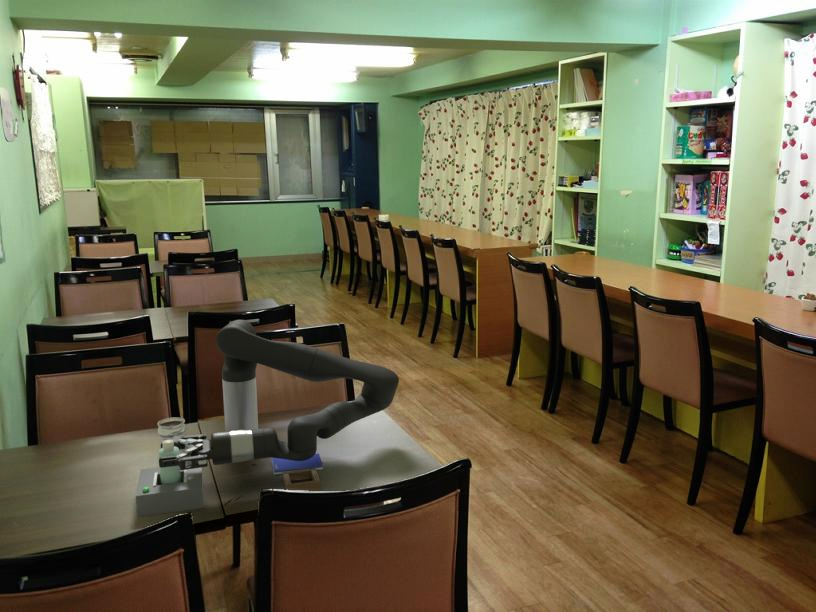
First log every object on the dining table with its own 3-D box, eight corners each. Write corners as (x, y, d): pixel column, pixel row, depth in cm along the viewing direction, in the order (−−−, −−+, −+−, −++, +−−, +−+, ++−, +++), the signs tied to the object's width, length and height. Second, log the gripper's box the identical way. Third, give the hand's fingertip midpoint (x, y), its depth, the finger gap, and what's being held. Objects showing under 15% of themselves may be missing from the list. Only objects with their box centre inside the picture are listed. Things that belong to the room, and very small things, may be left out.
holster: (283, 479, 169) (282, 472, 169) (315, 475, 172) (315, 468, 171) (287, 494, 162) (286, 486, 161) (320, 489, 164) (320, 482, 164)
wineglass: (168, 474, 172) (165, 429, 170) (155, 466, 177) (152, 422, 174) (193, 465, 177) (190, 421, 175) (179, 458, 182) (176, 415, 179)
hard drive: (273, 470, 172) (323, 465, 175) (271, 457, 180) (318, 452, 183) (274, 476, 172) (323, 471, 175) (271, 463, 180) (318, 458, 183)
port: (142, 488, 165) (140, 466, 164) (203, 480, 169) (201, 459, 168) (137, 516, 152) (135, 493, 150) (203, 507, 156) (201, 485, 154)
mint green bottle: (162, 495, 162) (158, 439, 159) (182, 492, 163) (178, 437, 160) (161, 503, 157) (157, 446, 155) (182, 501, 159) (177, 444, 156)
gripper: (234, 474, 156) (159, 483, 151) (232, 449, 169) (162, 457, 165) (233, 443, 154) (156, 452, 150) (230, 421, 168) (160, 428, 163)
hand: (159, 455), depth 157 cm, fingers open, 8 cm apart
